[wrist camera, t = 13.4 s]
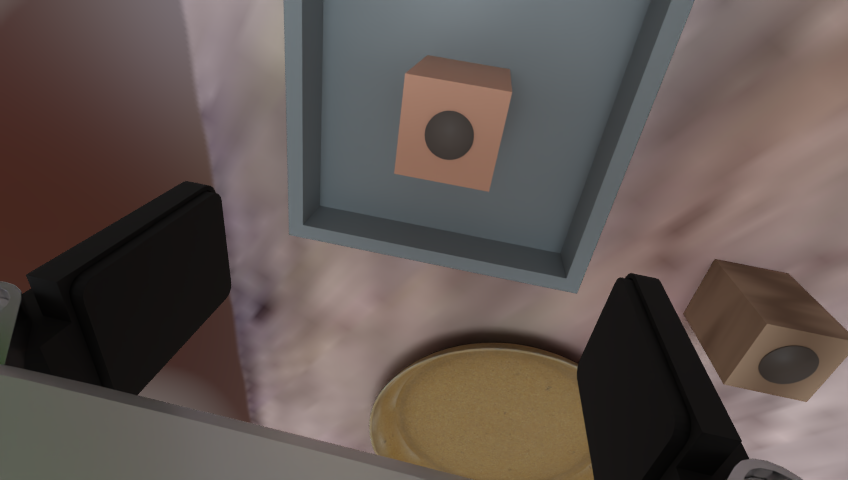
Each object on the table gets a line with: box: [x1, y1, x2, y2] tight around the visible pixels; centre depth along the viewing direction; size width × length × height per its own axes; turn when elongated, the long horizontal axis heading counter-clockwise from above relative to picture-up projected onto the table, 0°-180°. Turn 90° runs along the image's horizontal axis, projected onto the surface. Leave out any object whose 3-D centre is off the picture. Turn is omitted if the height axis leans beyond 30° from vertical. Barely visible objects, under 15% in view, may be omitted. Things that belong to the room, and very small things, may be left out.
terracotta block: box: [394, 55, 512, 192], centre depth 24 cm, size 5×5×7 cm
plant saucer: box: [369, 343, 594, 480], centre depth 41 cm, size 24×24×3 cm
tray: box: [284, 0, 694, 294], centre depth 26 cm, size 20×20×4 cm
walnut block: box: [683, 259, 848, 402], centre depth 29 cm, size 5×5×7 cm
